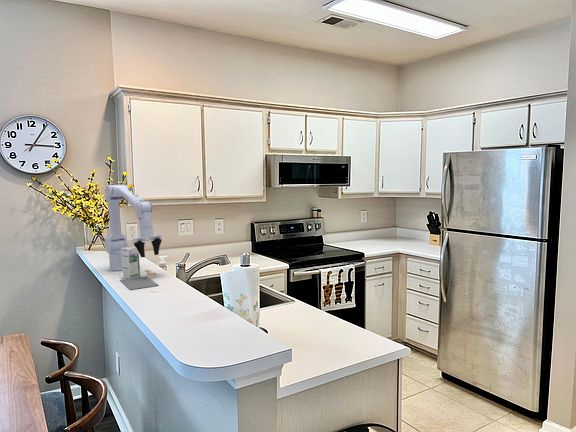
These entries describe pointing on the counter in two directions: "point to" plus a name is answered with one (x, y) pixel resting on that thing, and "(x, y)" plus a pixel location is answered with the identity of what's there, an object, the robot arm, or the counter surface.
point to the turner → (150, 272)
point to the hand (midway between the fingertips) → (149, 256)
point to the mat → (138, 283)
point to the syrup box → (130, 262)
